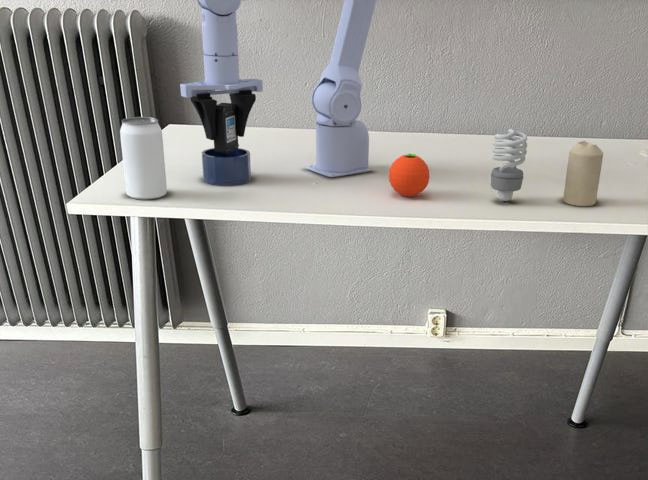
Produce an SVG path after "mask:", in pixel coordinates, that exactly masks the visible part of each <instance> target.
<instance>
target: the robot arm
mask: <svg viewBox="0 0 648 480" xmlns="http://www.w3.org/2000/svg"><path fill="white" fill-rule="evenodd" d="M242 1H245V0H196V2H197V4H198V5H199V7H200V9H201V36H202V37H201V38H202V55H203V70H204V80H201V81H194V82H188V83H180V84H179V86H180V87H179V89H180V96H181V97H182V98H187V99H190V102H191V103H192V105H193V107H194V109H195V110H196V112H197V114H198V116H199V120H200V121H201V124H202V127H203V130H204V134H205V138H206V139H208V140H210V141H214V140H215V139H216V128H215V113H216V105H218V101H217V100H216V99H214V98H213V96H214V95H216V96H217V95H226V94H227V95H229V100H230V103H233V104H236V114H237V136H238V138H242V137H243V138H244V137H245V132H246V127H247V122H248V119H249V116H250V113H251V111H252V108H253V106H254V105H255V103H256V99H257V95H256V94H255V93H253V92H256V93H261V92H263V91H264V88H263V79H260V78H240V62H239V61H240V59H239V40H238V24H237V10H238V9H239V8H240V5H241V4H242V3H241V2H242ZM376 4H377V0H343V4H342V10H341V14H340V18H339V21H338V27H337V30H336V34H335V38H334V43H333V47H332V51H331V54H330V59H329V63H328V64H327V66H326V67H325V68H324V69H323V71H322V72H321V75H320V79H319V81H318V82H317V84H316V86H315V87H314V88H313V90H312V91H311V97H310V102H311V105H312V108H313V110H314V111H315V112H316V113H317V115H316V118H315V164H314V165H313V164H312V165H307V166H306V170H308V171H312V172H315V173H317V174H320V175H322V176H325V177H328V178H337V177H343V176H344V177H345V176H349V175H356V174H361V173H362V174H363V173H368V172H371V171H372V168H370V167H369V158H370V157H369V153H370V152H369V151H370V149H369V148H370V134H369V130H368V128H367V126H366V124H365V122H363V121H361V120H357V118H358V117H359V116H360V114H361V111H362V100H361V92H362V87H363V85H362V84H363V83H362V81H361V77H360V73H359V70H360V67H361V63H362V59H363V55H364V51H365V47H366V43H367V39H368V35H369V31H370V27H371V23H372V20H373V19H372V18H373V15H374V11H375V7H376Z"/></svg>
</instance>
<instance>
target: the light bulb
mask: <svg viewBox="0 0 648 480" xmlns="http://www.w3.org/2000/svg"><path fill="white" fill-rule="evenodd" d="M494 139H495V140H493V142H492V145H493V146H494V147H493V148H492V150H491V151H492V153H493V155H492V156H491V157H492V160H494V161H498V162H499V161H500V162H501V161H502V162H504V163H503V164H501V165H500V166H497V167H494V168H492V169H491V172H490V187H491V188H492V189H493V190H495V191H497V198H498V199H499V200H500V201H501V202H503V203H507V202H509V201H510V200H511V199H513V195H514V192H518V191H520V190H521V189H522V186H523V181H524V171H523V169H520V168H518V166H520V165H522V164H524V163H525V161H526V155H527V154H528V150H527V148H528V142H527V141H528V135H527V134H526V133H524V132H521V131H519V130H515V129H512V128H508V129H507V133H506V134H505V133H504V134H503V133H496V134H494ZM504 140H508V141H504ZM504 147H505V148H504ZM506 147H507V148H506ZM515 160H516V161H515ZM505 161H506V162H505Z"/></svg>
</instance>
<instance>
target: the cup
mask: <svg viewBox="0 0 648 480" xmlns="http://www.w3.org/2000/svg"><path fill="white" fill-rule="evenodd" d="M201 164H202V176H203V182H205V183H206V184H209V185H214V186H239V185H244V184H247V183H249V182H250V181H251V177H252V167H251V152H250V151H249V150H248V149H245V148H241V147H238V149H237V150H236V151H233V152H231V153H228V154H220V153H215V151H214V147H211V148H207V149H204V150H203V151H201Z"/></svg>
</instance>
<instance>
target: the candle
mask: <svg viewBox="0 0 648 480" xmlns="http://www.w3.org/2000/svg"><path fill="white" fill-rule="evenodd" d="M603 158H604V151H603V150H602V149H601V148H600V147H599V146H598V145H597V144H594V143H591V142H588V141H585V140H581V141H578V142H577V143H576V144H575V145H573V146H572V147H571V148H570V149H569V150H568V160H567V167H566V173H565V181H564V190H563V198H562V200H563V202H564V203H565V204H568V205H571V206H576V207H591V206H594V205H596V204H597V198H598V191H599V185H600V178H601V172H602V164H603Z"/></svg>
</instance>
